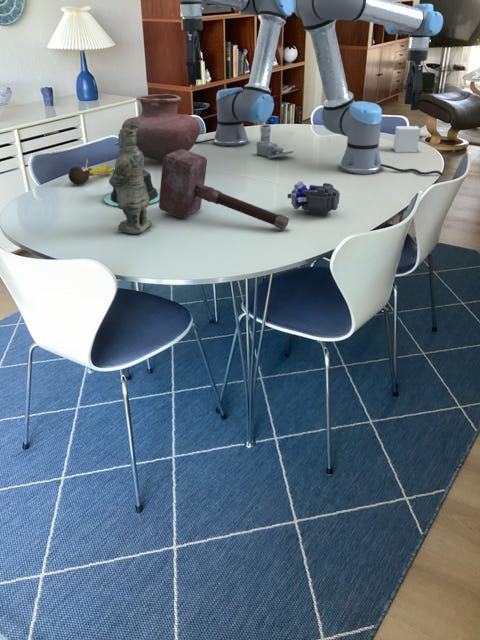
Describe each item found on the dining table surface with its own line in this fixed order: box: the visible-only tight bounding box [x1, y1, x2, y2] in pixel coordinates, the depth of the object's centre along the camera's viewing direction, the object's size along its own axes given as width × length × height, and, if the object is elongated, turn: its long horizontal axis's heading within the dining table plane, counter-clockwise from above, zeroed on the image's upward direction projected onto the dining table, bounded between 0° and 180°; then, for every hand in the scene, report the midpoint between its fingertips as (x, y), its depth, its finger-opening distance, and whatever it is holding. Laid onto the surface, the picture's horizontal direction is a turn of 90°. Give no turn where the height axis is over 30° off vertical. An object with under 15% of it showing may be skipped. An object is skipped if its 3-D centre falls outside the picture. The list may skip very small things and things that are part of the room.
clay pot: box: [121, 93, 201, 163], centre depth 222 cm, size 30×30×25 cm
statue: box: [108, 121, 153, 235], centre depth 154 cm, size 11×9×30 cm
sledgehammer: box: [158, 149, 290, 231], centre depth 163 cm, size 17×10×40 cm
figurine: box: [67, 158, 115, 186], centre depth 207 cm, size 13×8×25 cm
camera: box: [256, 124, 295, 159], centre depth 227 cm, size 9×12×15 cm
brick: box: [392, 125, 421, 153], centre depth 233 cm, size 9×6×9 cm
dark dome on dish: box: [103, 168, 160, 207], centre depth 186 cm, size 15×19×20 cm
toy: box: [287, 180, 341, 216], centre depth 168 cm, size 9×9×15 cm
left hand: (195, 82), depth 209 cm, fingers open, 13 cm apart
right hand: (410, 107), depth 226 cm, fingers open, 13 cm apart
